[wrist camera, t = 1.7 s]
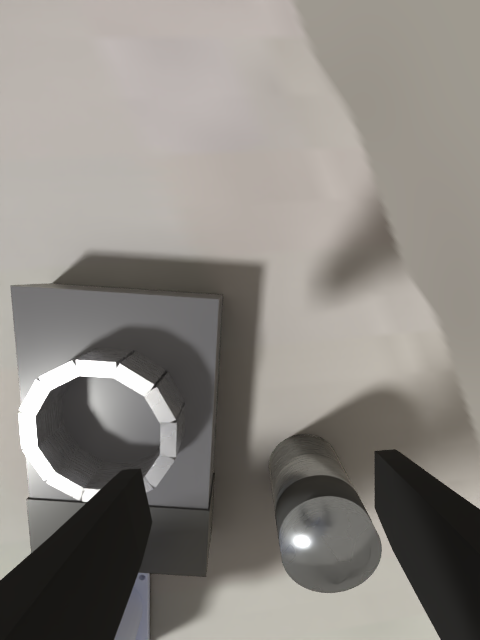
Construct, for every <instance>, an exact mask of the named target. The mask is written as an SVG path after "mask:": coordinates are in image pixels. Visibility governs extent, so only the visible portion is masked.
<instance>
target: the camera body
mask: <svg viewBox="0 0 480 640" xmlns="http://www.w3.org/2000/svg"><path fill="white" fill-rule="evenodd" d="M11 297H12V309H13V320H14V331H15V342H16V354H17V365H18V376H19V388H20V399H21V407H20V409H19V410H20V411H21V412H19V413H18V414H19V425H20V436H21V447H22V448H25V449H24V450H23V452H24V453H25V455H26V466H27V478H28V489H29V497H28V498H27V499H26V501H27V512H28V523H29V534H30V545H31V553H32V552H33V551H34V550H36V549H37V548H38V547H39V546H40V545H41V544H42V543H44V542H45V541H46V540H47V539H48V538H49V537H50V536H51V535H52V534H54V533H55V532H56V531H57V530H58V529H59V528H60V527H61V526H62V525H63V524H64V523H65V522H66V521H68V520H69V519H70V518H71V517H72V516H73V515H74V514H75V513H76V512H77V511H78V510H79V509H80V508H81V507H83V506H84V505H85V504H86V503H87V502H88V501H89V500H90V499H91V498H92V497H93V496H94V495H95V494H96V493H97V492H98V491H99V490H101V489H102V488H103V487H104V486H105V485H106V484H107V483H108V482H109V481H110V480H111V479H112V478H113V477H115V476H116V475H117V474H118V473H119V472H120V471H121V470H126V469H140V468H141V471H142V476H143V480H144V485H145V490H146V494H147V499H148V504H149V508H150V513H151V518H152V526H151V530H150V534H149V538H148V542H147V546H146V549H145V553H144V557H143V560H142V564H141V567H140V570H139V572H138V573H151V574H168V575H185V576H201V577H206V572H207V564H208V555H209V547H210V538H211V529H212V511H213V493H214V475H215V473H213V468H214V450H215V431H216V413H217V394H218V376H219V357H220V339H221V321H222V302H223V295H218V294H203V293H188V292H173V291H158V290H143V289H128V288H113V287H98V286H83V285H68V284H53V283H50V284H30V285H11Z"/></svg>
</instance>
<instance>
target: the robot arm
mask: <svg viewBox="0 0 480 640" xmlns="http://www.w3.org/2000/svg"><path fill="white" fill-rule="evenodd" d="M375 509H376V512H377V514H378V517H379V519H380V522H381V524H382V526H383V529H384V531H385V533H386V536H387V538H388V540H389V543H390V545H391V547H392V550H393V551H394V553H395V555H396V557H397V559H398V561H399V563H400V565H401V567H402V568H403V570H404V572H405V574H406V576H407V578H408V580H409V582H410V583H411V585H412V587H413V589H414V591H415V593H416V595H417V596H418V598H419V600H420V602H421V604H422V606H423V608H424V609H425V611H426V613H427V615H428V617H429V619H430V621H431V622H432V624H433V626H434V628H435V630H436V632H437V634H438V635H439V637H440V639H441V640H480V509H479V508H477V507H476V506H474V505H473V504H471V503H470V502H469V501H467V500H466V499H464V498H463V497H461V496H460V495H459V494H457V493H456V492H454V491H453V490H451V489H450V488H449V487H447V486H446V485H444V484H443V483H442V482H440V481H439V480H438V479H436V478H435V477H433V476H432V475H431V474H429V473H428V472H426V471H425V470H424V469H422V468H421V467H420V466H418V465H417V464H415V463H414V462H413V461H411V460H410V459H408V458H407V457H406V456H404V455H403V454H401V453H400V452H398V451H397V450H382V451H375ZM151 526H152V518H151V513H150V508H149V504H148V499H147V494H146V490H145V485H144V480H143V476H142V471H141V468H140V469H126V470H121V471H120V472H119V473H118V474H117V475H116V476H115V477H113V478H112V479H111V480H110V481H109V482H108V483H107V484H106V485H105V486H104V487H103V488H102V489H101V490H99V491H98V492H97V493H96V494H95V495H94V496H93V497H92V498H91V499H90V500H89V501H88V502H87V503H86V504H85V505H84V506H83V507H81V508H80V509H79V510H78V511H77V512H76V513H75V514H74V515H73V516H72V517H71V518H70V519H69V520H68V521H66V522H65V523H64V524H63V525H62V526H61V527H60V528H59V529H58V530H57V531H56V532H55V533H54V534H52V535H51V536H50V537H49V538H48V539H47V540H46V541H45V542H44V543H42V544H41V545H40V546H39V547H38V548H37V549H36V550H34V551H33V552H32V553H31V554H30V555H29V556H28V557H26V558H25V559H24V560H23V561H22V562H21V563H20V564H19V565H17V566H16V567H15V568H14V569H13V570H12V571H11V572H9V573H8V574H7V575H6V576H5V577H4V578H3V579H2V580H0V640H149V636H150V573H138V572H139V570H140V567H141V564H142V560H143V557H144V553H145V549H146V546H147V542H148V538H149V534H150V530H151Z"/></svg>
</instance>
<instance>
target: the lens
mask: <svg viewBox="0 0 480 640" xmlns="http://www.w3.org/2000/svg"><path fill="white" fill-rule="evenodd" d="M269 472H270V479H271V487H272V494H273V501H274V508H275V517H276V525H277V532H278V539H279V545H280V551H281V558H282V563H283V566H284V568H285V570H286V572H287V573H288V575H289V576H290V577H291V578H292V579H293V580H294V581H295V582H296V583H298V584H299V585H301V586H302V587H304V588H307V589H309V590H312V591H316V592H322V593H335V592H341V591H346V590H349V589H351V588H354V587H356V586H358V585H359V584H361V583H363V582H364V581H365V580H367V579H368V578H369V577H370V576H371V575H372V573H373V572H374V571H375V569H376V568H377V566H378V564H379V561H380V558H381V552H382V547H381V541H380V538H379V535H378V533H377V531H376V529H375V527H374V525H373V523H372V521H371V519H370V517H369V515H368V513H367V511H366V509H365V507H364V505H363V504H362V502H361V500H360V498H359V496H358V494H357V493H356V491H355V489H354V487H353V485H352V483H351V481H350V480H349V478H348V476H347V474H346V472H345V470H344V468H343V466H342V464H341V462H340V460H339V459H338V457H337V455H336V453H335V451H334V449H333V448H332V447H331V445H330V444H329V443H328V442H326V441H325V440H323V439H322V438H319V437H317V436H313V435H307V434H302V435H296V436H292V437H289V438H287V439H285V440H284V441H282V442H281V443H280V444H279V445H278V446H277V447H276V448H275V449H274V451H273V452H272V454H271V457H270V460H269Z"/></svg>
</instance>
